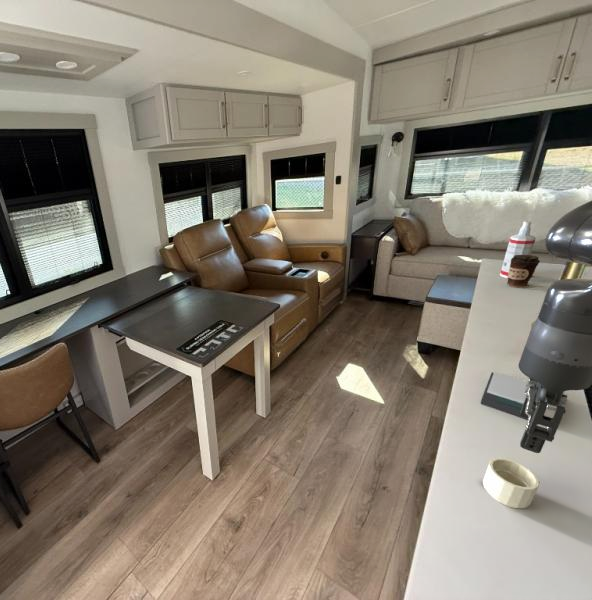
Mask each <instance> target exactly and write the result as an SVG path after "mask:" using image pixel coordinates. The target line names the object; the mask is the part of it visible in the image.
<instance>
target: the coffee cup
mask: <svg viewBox="0 0 592 600" xmlns="http://www.w3.org/2000/svg"><path fill="white" fill-rule="evenodd" d="M539 258H540V257H539V256H536V255H532V254H531V255H515V256H514V257H513V258H512V259H511V264H510V268H509V274H508V278H507V282H506V284H507V285H508V286H510V287H513V288H521V289H522V288H523V289H525V288H528V286H529V282H530V280H531V279H532V278H533V277H534V274H535V272H536V269H537V267H538V266H539V264H540V262H541V261H540V259H539Z"/></svg>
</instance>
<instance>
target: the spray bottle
mask: <svg viewBox="0 0 592 600" xmlns="http://www.w3.org/2000/svg"><path fill="white" fill-rule="evenodd" d="M531 225H532V221H528V220H524V221H523V223H522V226H521V227H520V228H519V232H518V234H513V235H511V236H510V237H509V240H508V245H507V248H506V250H505V255H504V259H503V262H502V265H501V270H500V272H499V276H500V277H501V278H505V279H508V274H509V268H510V264H511V259H512V258H513V257H514V256H515V255H532V252H533V249H534V245H535V242H536V239H537V236H535V235H531V230H532V229H531Z"/></svg>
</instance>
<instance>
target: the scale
mask: <svg viewBox="0 0 592 600" xmlns="http://www.w3.org/2000/svg"><path fill="white" fill-rule="evenodd" d="M527 381H528V380H526V379H523V378H520V377H516V376H513V375H512V376H511V375H508V374H505V373H502V372H497V371H494V372H493V371H492V372H490V376H489V378H488V381H487V383H486V386H485V388H484V391H483V394H482V396H481V400H480V403H481V404H480V405H483V406H486V407H488V406H489V407H488V408H492V409H493V410H497V411H500V412H503V413H506V414H509V415H512V416H515V417H517V418H519V419H520V418H521V419H524V420H527V421H528V419H527V418H524V417H522V416H521V415H520V411H521V409H522V406H523V404H524V401H525V398H528V397H525V387H526V384H527Z"/></svg>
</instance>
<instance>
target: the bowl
mask: <svg viewBox="0 0 592 600" xmlns="http://www.w3.org/2000/svg"><path fill="white" fill-rule="evenodd" d="M482 484H483V487H484V489H485V490H486V492H487V493H488V494H489V495H490V496H491V498H493V499H494V500H495V501H497V502H499V503H500V504H502V505H504V506H506V507H509V508H513V509H526V508H528V507H529V506H531V503H532V501H533V499H534V497H535V495H536V493H537V491H538V489H539V485H540V481H539V479H538V476H537V475H536V474H535V473H534V472H533V471H532V470H531V469H529V468H528V467H527V466H525V465H524V464H522V463H520V462H517V461H515V460H514V459H510V458H505V457H494V458H492V459H490V460H489V463H488V465H487V468H486V471H485V474H484V477H483V480H482Z"/></svg>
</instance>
